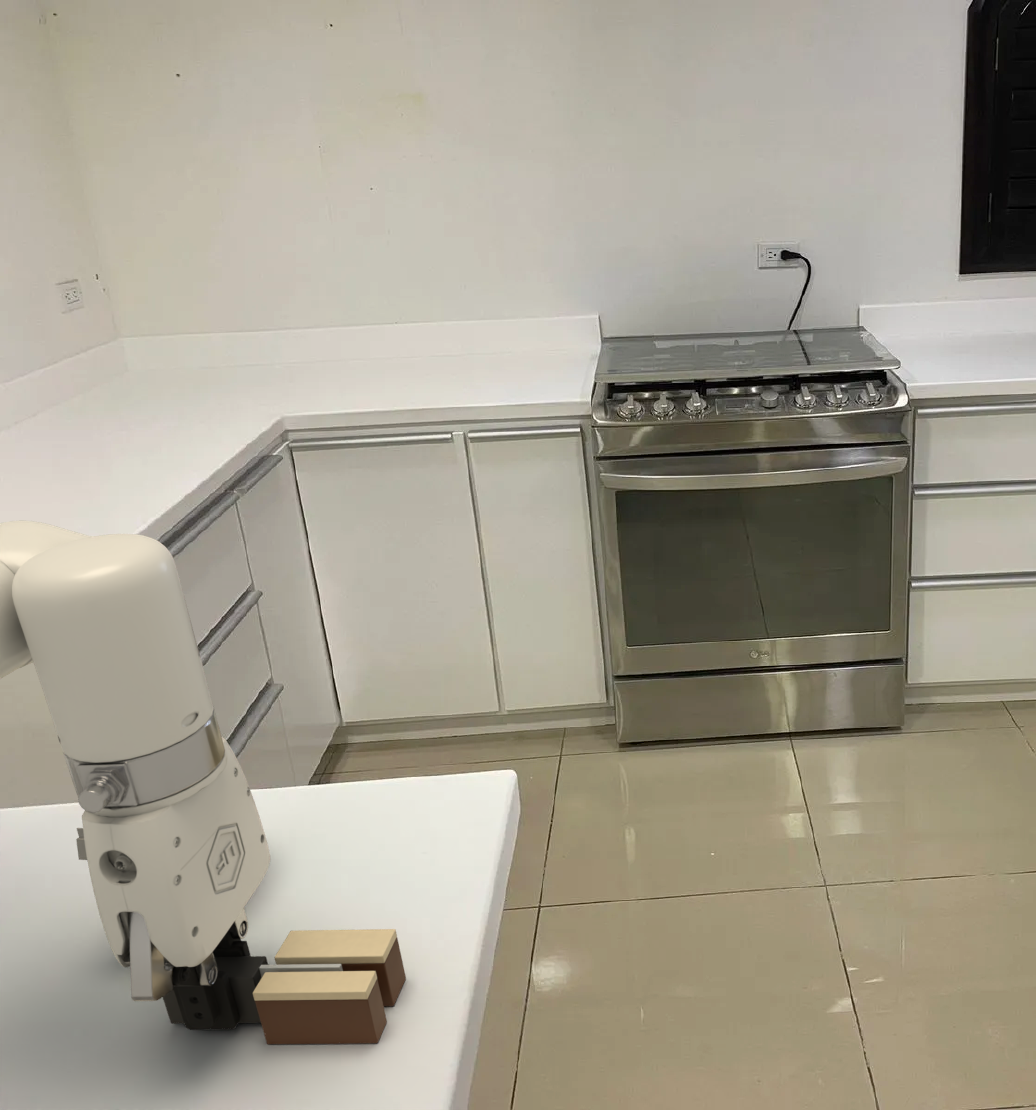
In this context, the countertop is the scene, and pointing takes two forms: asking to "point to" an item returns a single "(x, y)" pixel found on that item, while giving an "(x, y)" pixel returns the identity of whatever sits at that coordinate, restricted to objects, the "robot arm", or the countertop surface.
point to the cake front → (320, 1007)
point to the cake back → (350, 954)
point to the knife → (246, 983)
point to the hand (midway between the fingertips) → (223, 1008)
